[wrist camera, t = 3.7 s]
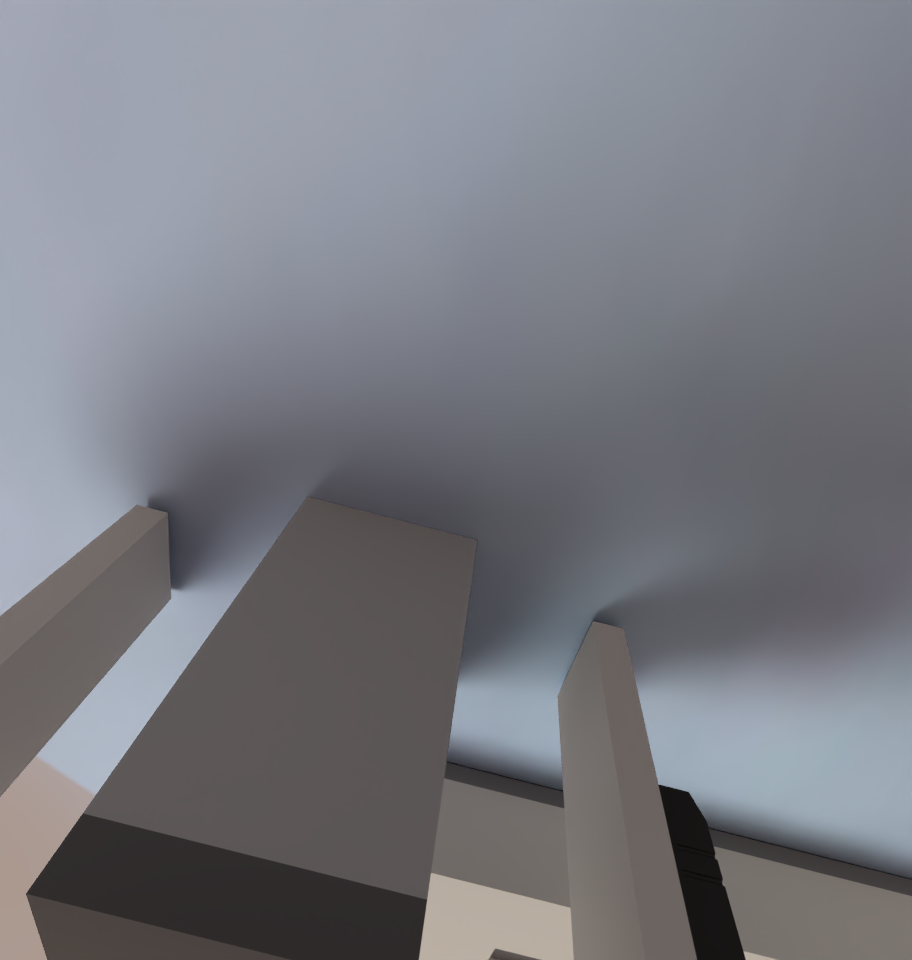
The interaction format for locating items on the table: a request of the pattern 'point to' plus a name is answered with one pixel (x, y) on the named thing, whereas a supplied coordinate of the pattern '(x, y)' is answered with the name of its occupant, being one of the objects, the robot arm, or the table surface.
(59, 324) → the table surface
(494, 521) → the table surface
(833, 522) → the table surface
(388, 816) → the plug
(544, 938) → the socket plate
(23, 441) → the table surface
